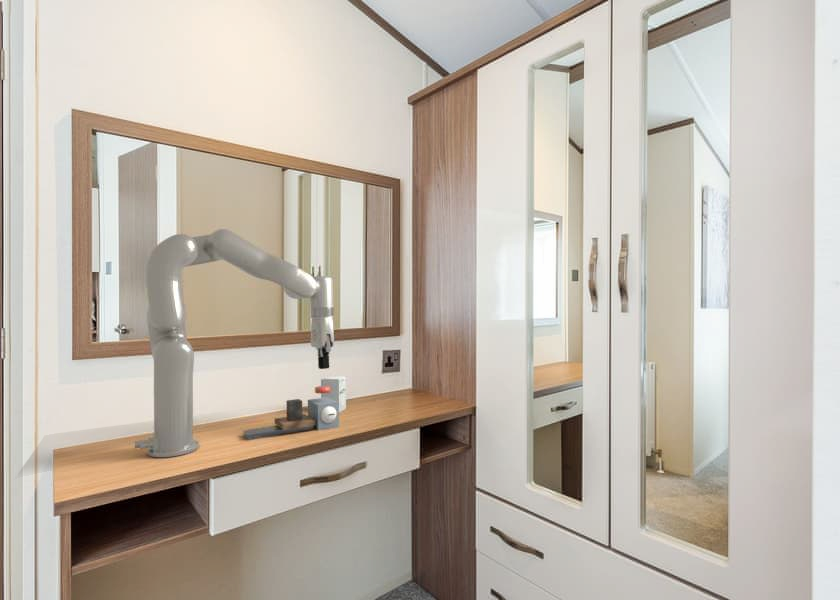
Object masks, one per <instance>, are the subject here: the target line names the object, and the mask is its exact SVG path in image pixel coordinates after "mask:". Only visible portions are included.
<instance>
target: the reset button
mask: <svg viewBox="0 0 840 600" xmlns="http://www.w3.org/2000/svg"><path fill="white" fill-rule="evenodd" d="M329 392H330V386H321V385H319V386H315V387H314V393H315V394H321V393H329Z"/></svg>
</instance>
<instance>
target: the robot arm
mask: <svg viewBox="0 0 840 600" xmlns="http://www.w3.org/2000/svg"><path fill="white" fill-rule="evenodd" d="M222 260H223V261H225V262H227V263H228V264H230V265H232V266H234V267H236V268H237V269H240V270H242V272H244V273H247V274H248V275H250V276H252V277H253V278H254V277H255V278H257V279H260V280H266V281H269V282H272V283H275V284H277V285H279V286H281V287H283V290H284V292H285V294H286V295H287V296H288V298H290V299H294V300H301V299H310V300H309V301H310V302H309V305H310V319H311V324H310V346H311V347H313V348H315V349H316V351H317V360H318V361H317V367H318V369H319V370H325V369H326V370H328V369H329V368H330V352H332V348H333V347H334V345H335V333H334V332H335V331H334V321H333V318H335V315H334V314H335V310H334V308H335V307H334V306H335V305H334V280H333V278H332V277H331V276H327V275H324V276H323V275H321V276H320V275H318V276H317V275H315V276H312V275H311V274H310V273H308V272H306V271H305V270H303V269H301V268H300V267H299V266H296V265H295V264H293V263H291V262H289V261H286V260H285V259H282V258H280V257H278V256H276V255H274V254H272V253H269V252H268V251H265V250H264V249H262V248H260V247H258V246H257V245H255V244H254V243H251V242H250V241H249V240H247V239H245V238H243V237H241V236H240V235H238V234H237V233H235V232H233V231H232V230H228V229H227V228H222V229H221V228H220V229H217V230H215V231H213V232H212V233H209V234H205V235H199V236H198V235H197V236H193V237H192V236H190V235H187V234H184V233H177V234H173V235H171V236H168V237H167V238H165V239H164V240H163V241H160V243H158V244H157V245H156V246H155V247H154V249H153V250H152V251H151V253H150V255H149V258H148V260H147V263H146V270H145V278H146V279H145V280H146V289H147V291H146V292H147V299H148V308H147V311H146V320H147V321H146V322H147V329H148V330H147V331H148V335H149V342H150V350H151V356H152V358H153V429H154V430H153V433H154V434H152V437H148V438H147V439H141V440H134V449H140V450H142V449H147V455H148V456H149V457H153V458H169V457H170V458H172V457H177V456H182V455H186V454H190V453H192V452H195V451H197V450H198V449H199V448H200V442H199V441H198V440H197V439H196V440H195V439H194V365H195V353H194V349H193V346H192V344H191V343H190V342H189V341H188V338H187V332H186V323H185V322H186V321H187V315H188V313H187V309H186V303H185V297H184V291H183V281H182V275H183V270H184V268H186V267H190V266H191V267H192V266H196V265H205V264H207V263H208V264H209V263H215V262H218V261H222Z"/></svg>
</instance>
